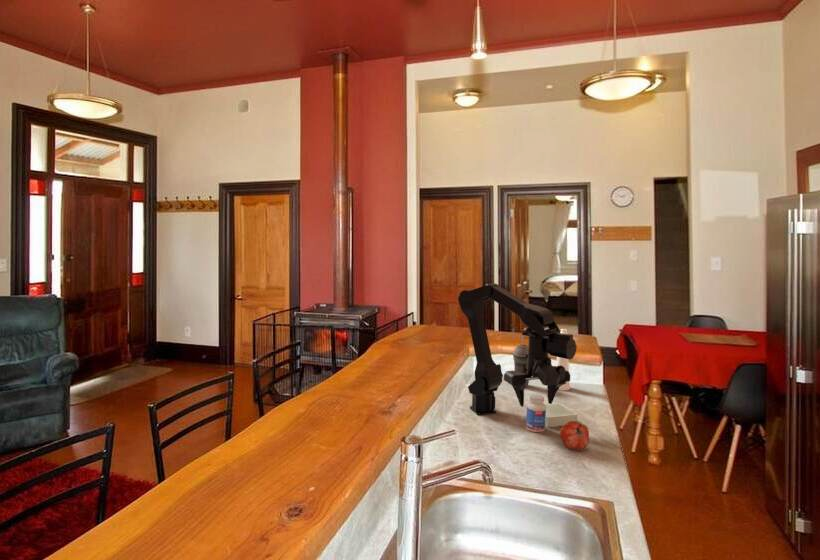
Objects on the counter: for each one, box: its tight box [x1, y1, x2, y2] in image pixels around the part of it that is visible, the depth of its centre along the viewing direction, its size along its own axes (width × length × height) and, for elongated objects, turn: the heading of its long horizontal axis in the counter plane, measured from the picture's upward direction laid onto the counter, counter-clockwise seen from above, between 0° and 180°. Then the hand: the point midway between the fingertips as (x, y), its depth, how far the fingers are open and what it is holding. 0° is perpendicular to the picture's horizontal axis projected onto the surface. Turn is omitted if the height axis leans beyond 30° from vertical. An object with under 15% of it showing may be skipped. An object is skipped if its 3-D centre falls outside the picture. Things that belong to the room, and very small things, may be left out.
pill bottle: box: [525, 394, 546, 433], centre depth 143 cm, size 6×5×10 cm
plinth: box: [544, 402, 578, 428], centre depth 151 cm, size 10×10×3 cm
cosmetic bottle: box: [555, 328, 571, 391], centre depth 180 cm, size 6×6×22 cm
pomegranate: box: [559, 421, 590, 451], centre depth 131 cm, size 7×7×10 cm
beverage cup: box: [512, 335, 530, 388], centre depth 183 cm, size 7×7×20 cm
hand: (536, 404), depth 143 cm, fingers open, 9 cm apart
